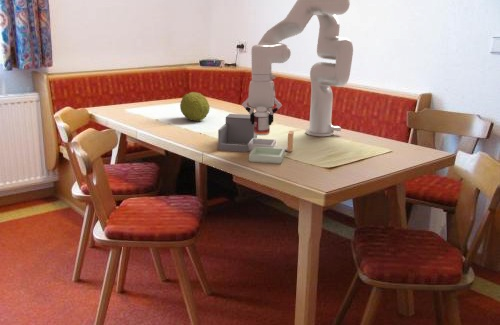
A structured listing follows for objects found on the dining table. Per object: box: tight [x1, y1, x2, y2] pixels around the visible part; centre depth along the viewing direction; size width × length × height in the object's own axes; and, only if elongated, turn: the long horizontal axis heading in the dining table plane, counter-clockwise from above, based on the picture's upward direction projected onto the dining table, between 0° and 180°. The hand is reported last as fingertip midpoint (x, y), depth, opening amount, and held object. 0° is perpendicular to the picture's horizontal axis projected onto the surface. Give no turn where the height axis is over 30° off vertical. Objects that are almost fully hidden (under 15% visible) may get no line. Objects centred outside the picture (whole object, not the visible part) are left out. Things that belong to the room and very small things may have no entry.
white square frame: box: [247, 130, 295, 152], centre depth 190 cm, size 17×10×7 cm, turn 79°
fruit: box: [179, 91, 211, 122], centre depth 239 cm, size 16×14×15 cm
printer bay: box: [217, 113, 258, 153], centre depth 195 cm, size 12×20×11 cm, turn 169°
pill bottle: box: [254, 107, 271, 136], centre depth 189 cm, size 6×6×11 cm
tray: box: [248, 147, 286, 165], centre depth 178 cm, size 12×12×3 cm
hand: (261, 123), depth 189 cm, fingers closed on pill bottle, 6 cm apart
